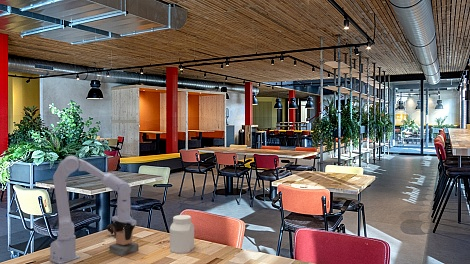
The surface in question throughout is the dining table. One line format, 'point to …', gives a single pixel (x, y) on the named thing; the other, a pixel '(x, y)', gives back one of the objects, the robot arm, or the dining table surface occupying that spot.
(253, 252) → the dining table surface
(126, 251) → the grey base block
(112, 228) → the pottery mug
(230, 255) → the dining table surface
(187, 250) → the jar
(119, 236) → the terracotta block
